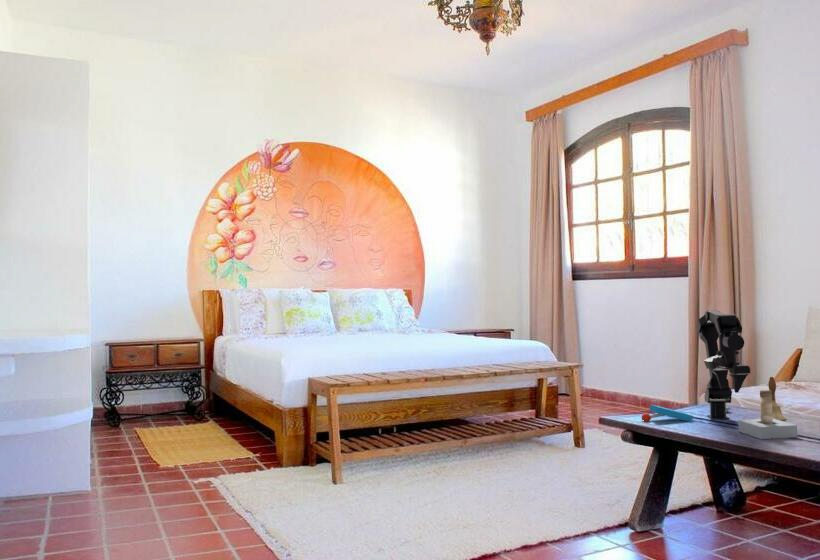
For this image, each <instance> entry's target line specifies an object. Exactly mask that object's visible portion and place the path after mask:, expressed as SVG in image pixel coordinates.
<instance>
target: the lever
mask: <svg viewBox="0 0 820 560" xmlns="http://www.w3.org/2000/svg"><path fill="white" fill-rule="evenodd" d="M649 406H650V407H649V411H651V412H652V413H655V414H651V415H650V414H649V413H647V412H646V413H643V414H642V415H641V419H642V420H641V421H643V420H644V421H649V422H650V421H651V419H654V418H659V417H665V416H666V417H669V418H673V419H677V420H682V421H686V422H693V418H694V415H692V414H689V413H687V412H682V411H679V410H675V409H671V408H668V407H663V406H659V405H655V404H653V403H651V404H650V405H649ZM644 421H643V422H644Z"/></svg>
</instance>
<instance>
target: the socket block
mask: <svg viewBox="0 0 820 560" xmlns="http://www.w3.org/2000/svg"><path fill="white" fill-rule="evenodd" d="M737 424H738V432H739V433H743V434H745V435H748V436H751V437H755V438H756V437H757V438H756V439H760V440H769V439H770V440H771V438H773V439H787V438H798V424H794V423H791V422H787V421H785V420H777V419H774V418H773V424H762V423H761V418H757V419H756V418H751V419H739V420H738V423H737Z"/></svg>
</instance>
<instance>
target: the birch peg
mask: <svg viewBox="0 0 820 560" xmlns="http://www.w3.org/2000/svg"><path fill="white" fill-rule="evenodd" d="M759 400H760V402H759V404H760V406H759V407H760V419H761V423H762V424H773V416H772V391H770V390H769V389H760V390H759Z"/></svg>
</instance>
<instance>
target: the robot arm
mask: <svg viewBox="0 0 820 560" xmlns="http://www.w3.org/2000/svg"><path fill="white" fill-rule="evenodd" d="M696 332H697V333H698V336H699V339H700V340H701V341H702V342H703V343H704V345H705V352H706V359H704V360H703V362H704V366H705V368H706V369H708V371H709V380H708V382H707V384H706V390H705V393H704V402H706V403H707V404H709V414H707V417H708V418H710V419H711V420H730V417H729V416H727V412H726V406H727V404H728V403H729V404H731V403H732V398H733V397H732V394H733V391H732V388H731V387H730V381H729V379H728V375H729V376H730V377H731V378H732V383H733V389H734V393H736V394H737V393H739V392H740V390H741V388H742V386H743V384H744V382H745V380H746V378H747V377H748V376H749V374H751V367H750V366H749V365H747V364H740V362H738V359H737V355H740V350H742V349H743V348H744V346H745V339H744V337H742V336H741V335H740V334H742V333H743V325H742V323H741V320H740V319H739V317H737V314H735V313H734V314H733V313H731V314H730V313H728V314H727V313H723V312H721V311H720V310H717V309H716V310H714V309H713V310H706V311H705V313H704V315H702V316H701V317H699V318H698V321H697V324H696Z"/></svg>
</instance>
